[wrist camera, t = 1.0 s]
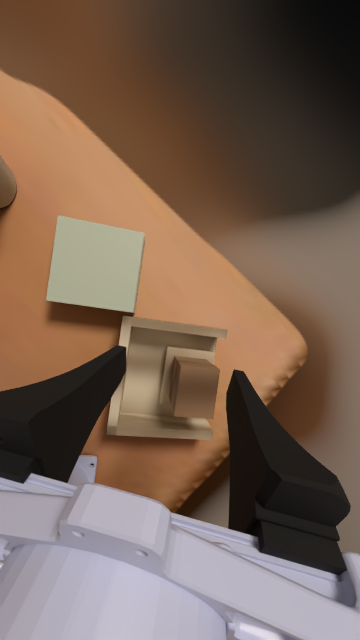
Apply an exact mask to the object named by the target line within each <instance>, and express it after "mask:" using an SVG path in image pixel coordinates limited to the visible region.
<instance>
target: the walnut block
mask: <svg viewBox="0 0 360 640" xmlns="http://www.w3.org/2000/svg"><path fill="white" fill-rule="evenodd" d="M219 373H220V369H218V368H217V367H216V366H214V365H213V364H212V363H210V362H209V361H208V360H206V359H198V358H190V357H181V356H175V357H174V364H173V371H172V378H171V385H170V392H169V399H170V403H171V407H172V411H173V414H174V416H175V417H190V418H206V419H213V416H214V409H215V402H216V394H217V387H218V380H219Z"/></svg>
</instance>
